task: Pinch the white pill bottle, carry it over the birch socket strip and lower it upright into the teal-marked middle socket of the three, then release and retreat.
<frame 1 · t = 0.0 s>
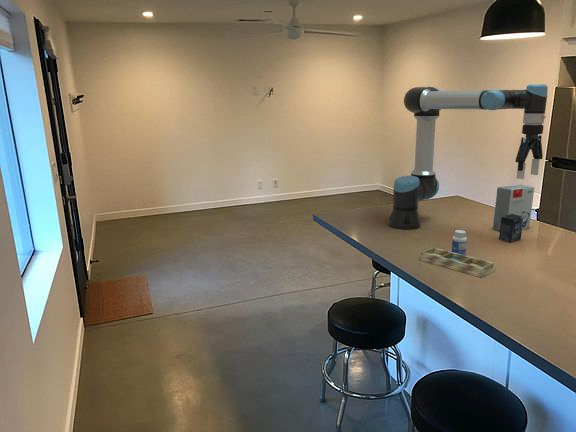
hand: (527, 176, 193), 28 cm above the table, fingers open, 13 cm apart
box: (509, 240, 203), on the table
pill bottle: (458, 255, 185), on the table
socket strip: (455, 264, 174), on the table
hard drive box: (510, 229, 219), on the table
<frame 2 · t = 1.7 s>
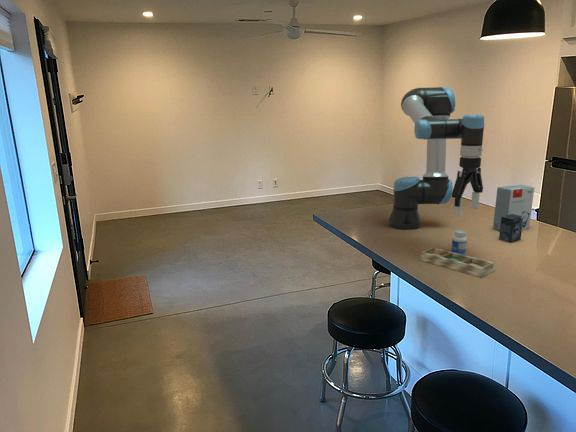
hand: (466, 211, 181), 17 cm above the table, fingers open, 13 cm apart
nothing on the table moved.
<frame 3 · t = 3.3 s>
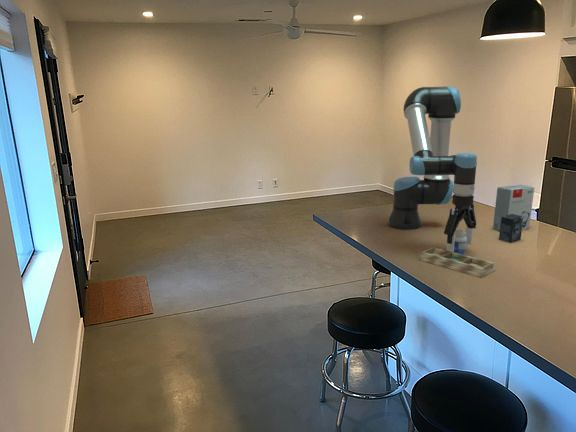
hand: (459, 247, 184), 3 cm above the table, fingers open, 13 cm apart
nothing on the table moved.
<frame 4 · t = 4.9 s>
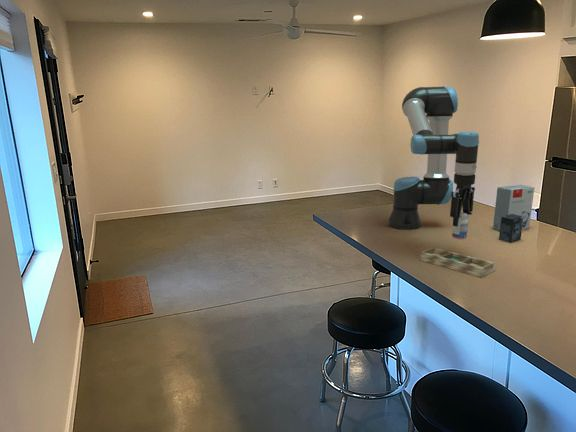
hand: (459, 231, 183), 9 cm above the table, fingers closed on pill bottle, 5 cm apart
pill bottle: (459, 238, 184), point 7 cm above the table, touching gripper
everything else where it was.
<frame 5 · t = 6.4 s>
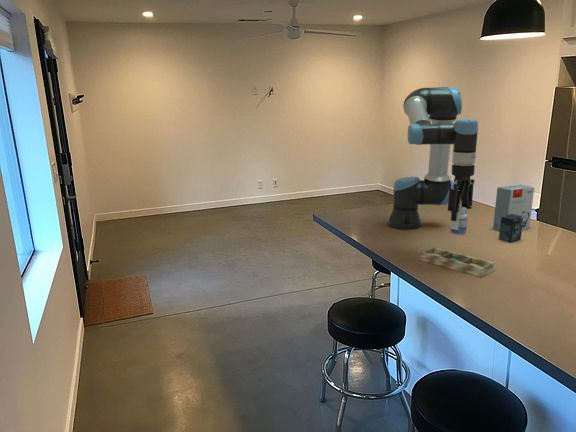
hand: (458, 227, 170), 14 cm above the table, fingers closed on pill bottle, 5 cm apart
pill bottle: (457, 234, 171), point 12 cm above the table, touching gripper
everything else where it was.
when the fingers open (4 cm above the table, at t = 8.2 s): pill bottle stays where it is, resting on socket strip.
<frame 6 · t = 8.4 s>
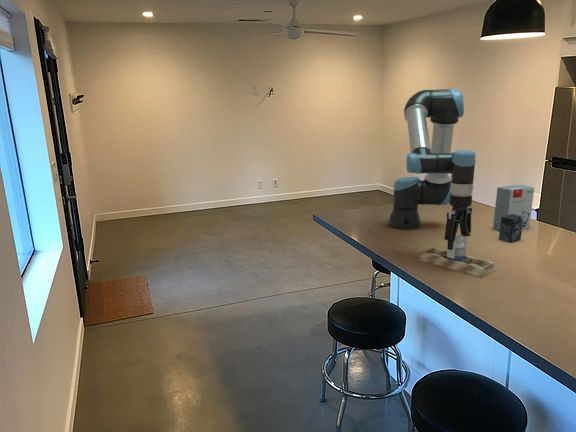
hand: (456, 255, 173), 4 cm above the table, fingers open, 7 cm apart
pill bottle: (455, 262, 174), point 1 cm above the table, touching socket strip
everything else where it was.
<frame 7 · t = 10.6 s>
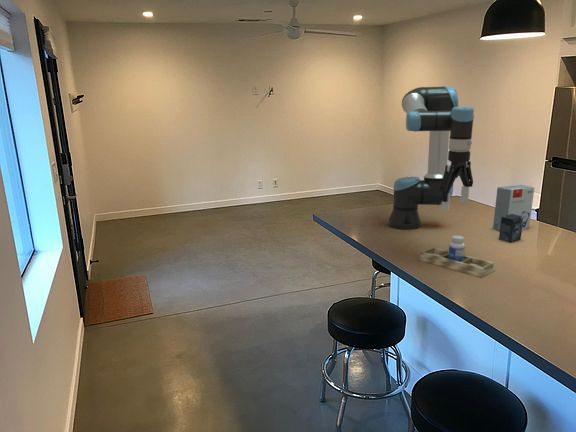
hand: (454, 206, 177), 20 cm above the table, fingers open, 13 cm apart
nothing on the table moved.
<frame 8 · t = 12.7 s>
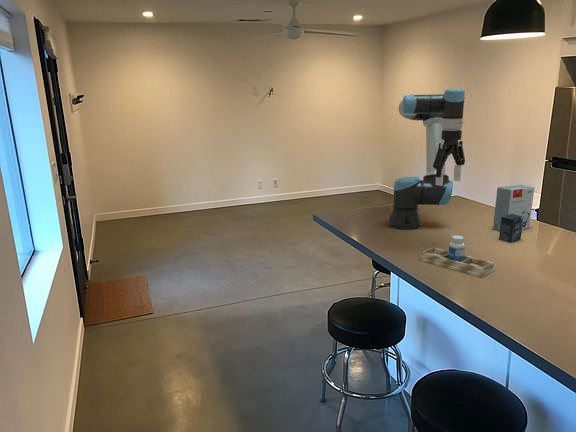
hand: (448, 183, 189), 27 cm above the table, fingers open, 13 cm apart
nothing on the table moved.
at the end: pill bottle 0.1 cm from the target spot, point 0.9 cm above the table; pill bottle tilted 0°; the gripper is holding nothing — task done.
